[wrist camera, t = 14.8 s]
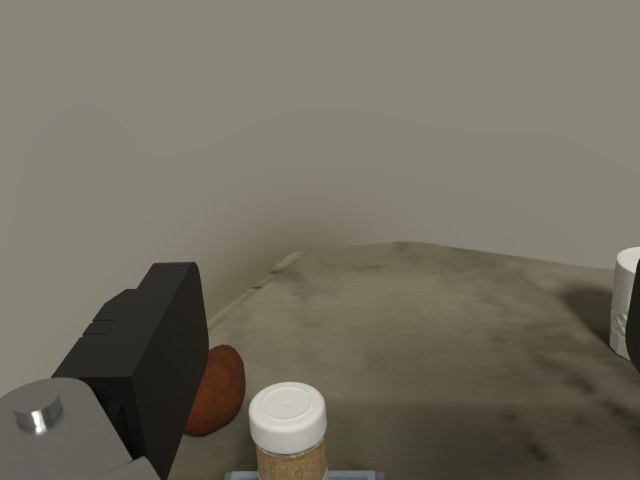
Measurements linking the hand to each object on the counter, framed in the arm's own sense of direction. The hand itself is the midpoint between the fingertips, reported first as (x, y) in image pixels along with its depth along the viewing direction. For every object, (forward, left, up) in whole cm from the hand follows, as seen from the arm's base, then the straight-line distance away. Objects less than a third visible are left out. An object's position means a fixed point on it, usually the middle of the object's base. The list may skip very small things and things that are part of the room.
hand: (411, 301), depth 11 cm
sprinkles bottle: (-11, -16, -31) cm, 37 cm away
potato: (-18, -34, -32) cm, 50 cm away
